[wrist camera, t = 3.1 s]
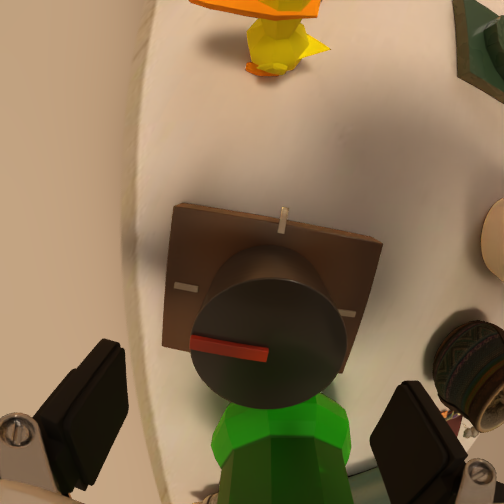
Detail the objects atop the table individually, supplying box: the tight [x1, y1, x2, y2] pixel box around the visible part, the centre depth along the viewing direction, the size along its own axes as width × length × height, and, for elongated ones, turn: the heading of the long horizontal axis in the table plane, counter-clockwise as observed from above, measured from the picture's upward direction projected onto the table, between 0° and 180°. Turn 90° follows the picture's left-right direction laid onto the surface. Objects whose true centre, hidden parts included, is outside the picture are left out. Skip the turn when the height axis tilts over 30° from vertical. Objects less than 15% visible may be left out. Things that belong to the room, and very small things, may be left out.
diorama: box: [441, 410, 479, 438], centre depth 23 cm, size 9×27×4 cm, turn 14°
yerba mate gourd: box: [432, 320, 504, 433], centre depth 16 cm, size 7×8×10 cm
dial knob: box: [189, 245, 347, 410], centre depth 15 cm, size 7×7×6 cm
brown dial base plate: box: [162, 203, 383, 373], centre depth 18 cm, size 12×11×2 cm
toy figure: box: [189, 0, 331, 76], centre depth 10 cm, size 7×4×12 cm, turn 78°
